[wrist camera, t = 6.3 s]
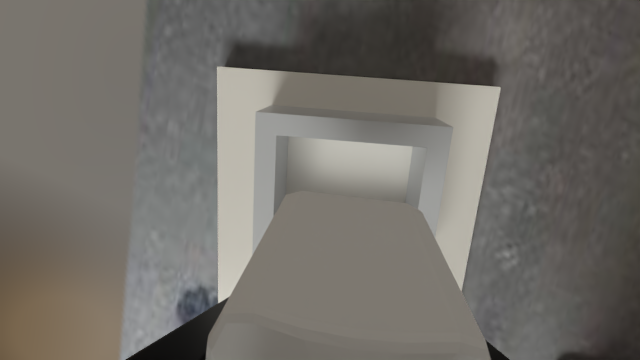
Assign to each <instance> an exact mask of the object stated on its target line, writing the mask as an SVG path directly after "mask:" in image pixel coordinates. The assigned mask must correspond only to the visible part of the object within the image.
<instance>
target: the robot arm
mask: <svg viewBox="0 0 640 360" xmlns="http://www.w3.org/2000/svg"><path fill="white" fill-rule="evenodd" d="M228 299H229V297H228V298H226V299H225V300H223V301H221V302H220V303H218V304H216V305H215V306H213V307H211V308H210V309H208V310H207V311H205V312H203V313H202V314H200V315H198V316H197V317H195V318H193V319H192V320H190V321H188V322H187V323H185V324H183V325H182V326H180V327H179V328H177V329H175V330H174V331H172V332H170V333H169V334H167V335H165V336H164V337H162V338H160V339H159V340H157V341H155V342H154V343H152V344H151V345H149V346H147V347H146V348H144V349H142V350H141V351H139V352H137V353H136V354H134V355H132V356H131V357H129V358H127V359H126V360H206V350H207V341H208V335H209V333H210V331H211V330H212V328H213V326H214V324H215V322H216V321H217V319H218V317H219V315H220V313H221V311H222V310H223V308H224V306H225V304H226V302H227V300H228ZM485 341H486V340H485ZM486 344H487V347H488V351H489V354H490V358H491V360H509V359H508V358H507V357H506V356H505V355H503V354H502V353H501V352H500V351H498V350H497V349H496V348H495V347H493V346H492V345H491V344H490V343H489V342H487V341H486Z"/></svg>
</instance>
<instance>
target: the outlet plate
mask: <svg viewBox="0 0 640 360" xmlns="http://www.w3.org/2000/svg"><path fill="white" fill-rule="evenodd" d="M500 89H501V87H495V86H482V85H468V84H454V83H440V82H426V81H413V80H399V79H385V78H371V77H357V76H343V75H329V74H316V73H302V72H288V71H274V70H260V69H246V68H233V67H217V140H218V303H220V302H221V301H223V300H225V299H226V298H228V297H230V295H231V293H232V291H233V290H234V288H235V286H236V284H237V282H238V281H239V279H240V277H241V275H242V273H243V271H244V270H245V268H246V266H247V264H248V262H249V261H250V259H251V257H252V255H253V253H254V251H255V250H256V248H257V246H258V244H259V242H260V241H261V239H262V237H263V235H264V233H265V232H266V230H267V228H268V226H269V224H270V222H271V221H272V219H273V217H274V215H275V213H276V212H277V210H278V208H279V206H280V204H281V203H282V201H283V199H284V197H285V195H288V194H291V193H295V192H299V191H309V192H317V193H325V194H334V195H342V196H350V197H359V198H367V199H375V200H384V201H392V202H400V203H407V204H409V205H411V206H413V207H415V208H416V209H418V210H420V211H422V213H423V215H424V217H425V219H426V221H427V223H428V225H429V227H430V229H431V231H432V233H433V235H434V237H435V239H436V241H437V243H438V245H439V247H440V249H441V251H442V253H443V256H444V258H445V260H446V262H447V264H448V266H449V268H450V270H451V272H452V274H453V276H454V278H455V280H456V282H457V284H458V286H459V288H460V290H461V292H462V286H463V281H464V276H465V271H466V266H467V260H468V255H469V250H470V245H471V240H472V235H473V229H474V224H475V219H476V214H477V209H478V203H479V198H480V193H481V188H482V183H483V177H484V172H485V167H486V162H487V157H488V152H489V146H490V141H491V136H492V131H493V126H494V120H495V115H496V110H497V105H498V100H499V95H500Z"/></svg>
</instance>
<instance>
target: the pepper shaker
mask: <svg viewBox="0 0 640 360" xmlns="http://www.w3.org/2000/svg"><path fill="white" fill-rule="evenodd" d="M206 360H491V358H490V354H489V351H488V347H487V344H486V341H485V339H484V337H483V335H482V333H481V331H480V329H479V327H478V325H477V323H476V321H475V319H474V317H473V315H472V313H471V310H470V308H469V306H468V304H467V302H466V300H465V298H464V296H463V294H462V292H461V290H460V288H459V286H458V284H457V282H456V280H455V278H454V276H453V274H452V272H451V270H450V268H449V266H448V264H447V262H446V260H445V258H444V256H443V253H442V251H441V249H440V247H439V245H438V243H437V241H436V239H435V237H434V235H433V233H432V231H431V229H430V227H429V225H428V223H427V221H426V219H425V217H424V215H423V213H422V211H420V210H418V209H416V208H415V207H413V206H411V205H409V204H407V203H400V202H392V201H384V200H375V199H367V198H359V197H350V196H342V195H334V194H325V193H317V192H309V191H299V192H295V193H291V194H288V195H285V197H284V199H283V201H282V203H281V204H280V206H279V208H278V210H277V212H276V213H275V215H274V217H273V219H272V221H271V222H270V224H269V226H268V228H267V230H266V232H265V233H264V235H263V237H262V239H261V241H260V242H259V244H258V246H257V248H256V250H255V251H254V253H253V255H252V257H251V259H250V261H249V262H248V264H247V266H246V268H245V270H244V271H243V273H242V275H241V277H240V279H239V281H238V282H237V284H236V286H235V288H234V290H233V291H232V293H231V295H230V297H229V299H228V300H227V302H226V304H225V306H224V308H223V310H222V311H221V313H220V315H219V317H218V319H217V321H216V322H215V324H214V326H213V328H212V330H211V331H210V333H209V335H208V341H207V350H206Z"/></svg>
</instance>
